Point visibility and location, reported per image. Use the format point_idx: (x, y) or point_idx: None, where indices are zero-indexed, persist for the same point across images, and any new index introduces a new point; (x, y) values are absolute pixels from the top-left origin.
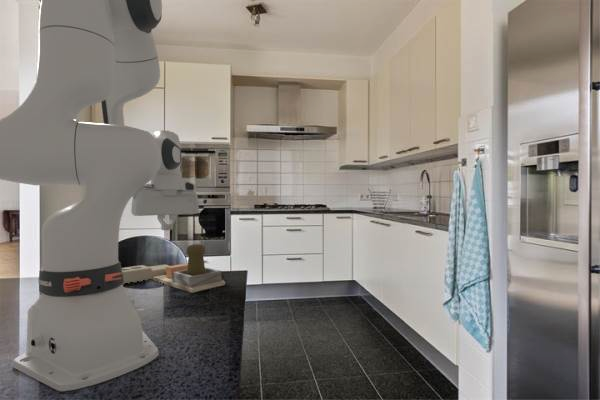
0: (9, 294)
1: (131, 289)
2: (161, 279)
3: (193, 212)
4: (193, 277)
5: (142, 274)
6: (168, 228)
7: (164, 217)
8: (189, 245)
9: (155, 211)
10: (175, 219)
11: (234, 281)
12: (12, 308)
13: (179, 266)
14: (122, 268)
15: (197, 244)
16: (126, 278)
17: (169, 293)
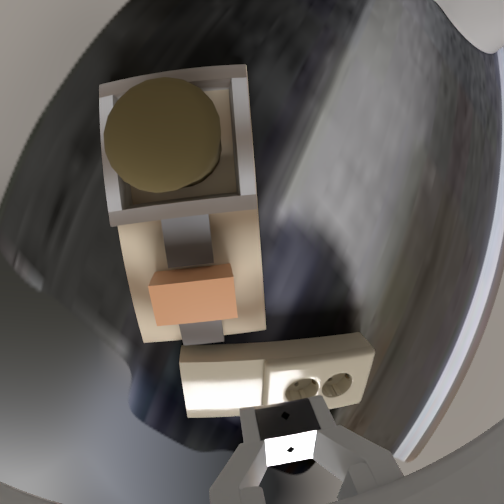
0: (467, 367)
1: (355, 257)
2: (260, 278)
3: (11, 496)
4: (235, 65)
5: (294, 351)
6: (284, 407)
7: (357, 475)
8: (190, 158)
9: (489, 461)
10: (220, 479)
11: (66, 108)
12: (499, 271)
13: (192, 284)
14: (332, 400)
15: (144, 122)
16: (339, 343)
17: (299, 118)
